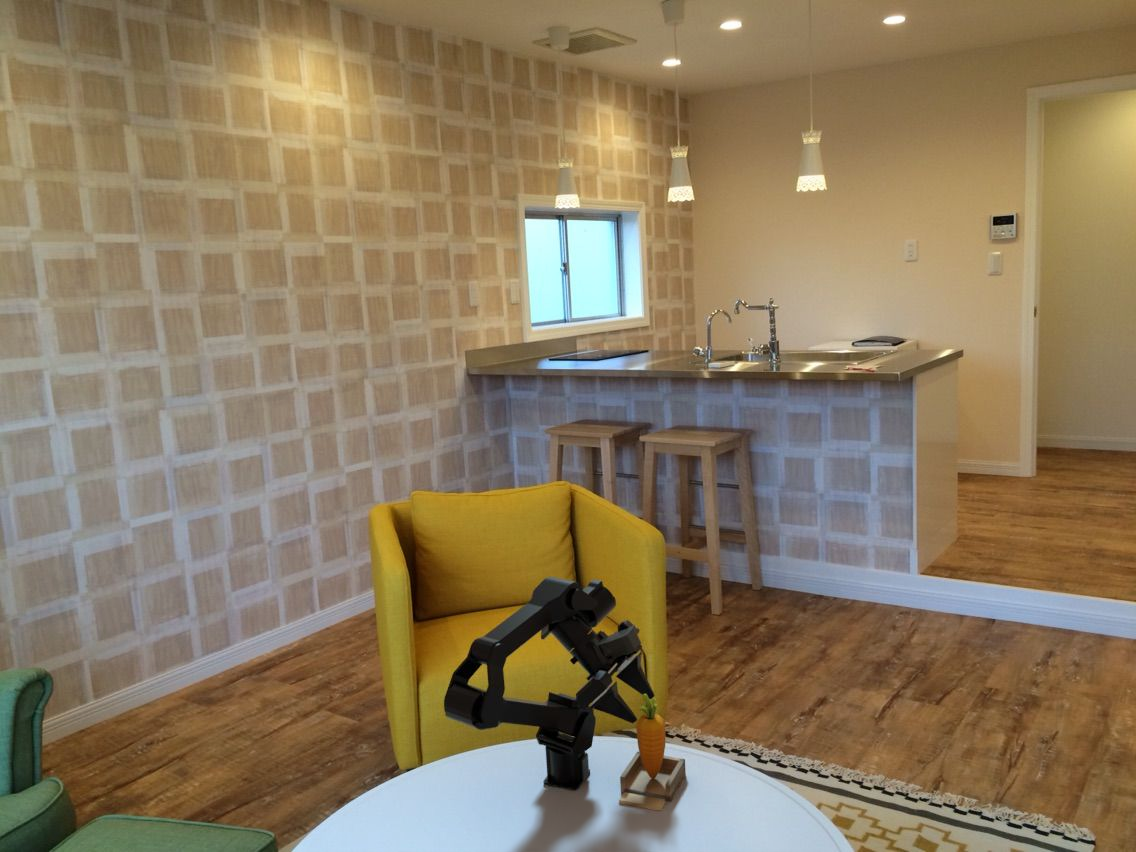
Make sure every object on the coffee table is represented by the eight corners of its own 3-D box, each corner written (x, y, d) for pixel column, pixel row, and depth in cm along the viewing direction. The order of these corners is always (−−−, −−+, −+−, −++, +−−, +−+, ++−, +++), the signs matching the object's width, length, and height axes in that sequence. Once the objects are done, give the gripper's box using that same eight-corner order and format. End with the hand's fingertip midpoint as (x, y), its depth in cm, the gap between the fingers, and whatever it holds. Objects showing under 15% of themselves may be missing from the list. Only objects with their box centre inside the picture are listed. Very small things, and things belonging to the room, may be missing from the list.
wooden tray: (614, 802, 155) (613, 785, 154) (637, 767, 166) (637, 751, 165) (665, 811, 151) (664, 794, 151) (685, 775, 162) (684, 759, 162)
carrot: (668, 786, 157) (665, 702, 155) (639, 787, 157) (635, 703, 155) (666, 770, 162) (663, 689, 160) (637, 771, 162) (634, 690, 160)
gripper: (589, 633, 149) (657, 706, 146) (628, 594, 166) (690, 659, 163) (548, 673, 154) (613, 745, 151) (590, 631, 170) (650, 696, 168)
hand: (644, 709), depth 158 cm, fingers open, 9 cm apart
